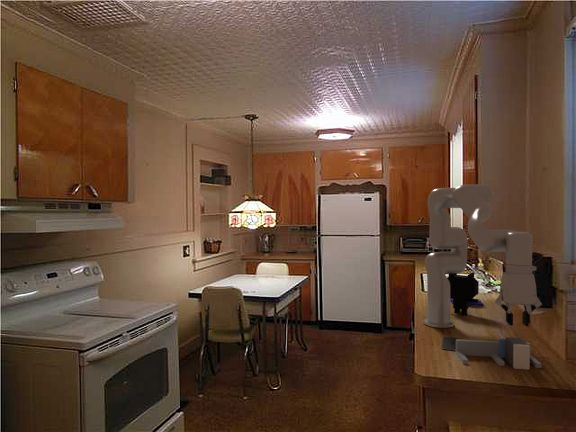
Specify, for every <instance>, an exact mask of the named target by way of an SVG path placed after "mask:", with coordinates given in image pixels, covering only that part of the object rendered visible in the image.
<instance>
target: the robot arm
mask: <svg viewBox="0 0 576 432" xmlns="http://www.w3.org/2000/svg"><path fill="white" fill-rule="evenodd" d="M492 201H493V191H492V190H491V188H490V187H489V186H487V185H486V184H481V183H480V184H476V183H475V184H474V183H473V184H471V183H469V184H468V183H467V184H465V183H464V184H460V185H458V186H456V187H440V188H439V187H438V188H434V189H433V190H431V192H430V193H429V194H428V197H427V209H428V214H429V240H428V241H429V245H430V247H432V249H435V250H450V251H435V252H430V253H428V254H427V255H426V256H425V259H424V267H425V270H426V281H427V282H426V283H427V284H426V287H427V288H426V290H427V291H426V298H427V299H426V318H424V319H423V321H422V322H423V324H424V325H426V326H428V327H432V328H440V329H450V328H452V327H454V326H455V322H454V321H453V320H451V302H450V282H449V280H448V279H447V277H448V276H446V275H449V274H450V273H457V274H460V273H464V271H465V270H466V268H467V263H468V236H469V238H470V239H471V240H472V241H473V244H474V245H475V246H476V247H477V248H478V249H479V250H481V251H483V252H485V253H486V252H487V253H492V252H493V253H495V252H497V253H498V252H502V253H503V252H505V272H503V271H502V274H501V278H500V284H499V285H500V286H499V294H498V296H497V298H496V299H495V300H494V303H495V304H496V305H497V306H499V307H501V309H503V310H504V311H505V322H506V323H507V325H509V326H511V327H512V326H513V325H514V313H513V311H512V310H513V308H514V307H513V306H514V305H517V306H518V305H520V306H521V305H523V306H522V307H523V312H522V317H521V318H522V321H521V322H522V325H524V326H525V327H529V324H530V323H531V315H532V313H533V312H534V311H535V310H536V309H538V308H539V307H541V306H542V305H543V303H542V302H541V301H540V299H539V298H538V296H537V295H538V294H537V285H536V279H535V275H534V274H533V271H534V272H535V271H537V266H534V265H533V236H532V234H531V233H530V232H528V231H516V230H515V229H487V228H486V227H485V226H484V225H483V224H482V223H484V222H485V221H487V220H488V219H489V218H490V217H491V215H492V212H493V209H492V207H491V206H490V205H489V204H490V203H491V202H492ZM447 209H461V211H463V213H464V215H465V216H466V217H467V219H468V222H467V232H468V235H467V233H466V231H465V230H464V229H463V227H459V226H451V222H452V220H451V219H452V218H451V214H450V212H449V211H448V210H447ZM503 302H504V303H503Z"/></svg>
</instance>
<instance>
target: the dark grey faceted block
mask: <svg viewBox="0 0 576 432" xmlns="http://www.w3.org/2000/svg"><path fill="white" fill-rule="evenodd" d="M505 339H506V357H505V361H507V362H508V363H509V365H510V366H511V367H512V368H513V369H514V370H515V369H517V370H530V367H531V366H530V364H531V363H530V346H529V345H528V344H526V343H525V340H524V339H522V338H520V337H510V336H509V337H505ZM523 340H524V341H523Z"/></svg>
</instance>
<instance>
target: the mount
mask: <svg viewBox="0 0 576 432" xmlns="http://www.w3.org/2000/svg"><path fill="white" fill-rule="evenodd" d="M450 303H451V305H453V299H450ZM473 305H476V306H478V307H479V306H481V307H484V306H485V305H484V303H483V302H482V301H481V300H479V299H478V303H474V302H469V306H473Z"/></svg>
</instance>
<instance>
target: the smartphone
mask: <svg viewBox="0 0 576 432" xmlns="http://www.w3.org/2000/svg"><path fill="white" fill-rule="evenodd" d="M456 339H462V340H464V338H460V337H452V336H451V337H450V336H443V337H442V341H441V347H440V348H441V350H443V351H448V352H455V353H456Z"/></svg>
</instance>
